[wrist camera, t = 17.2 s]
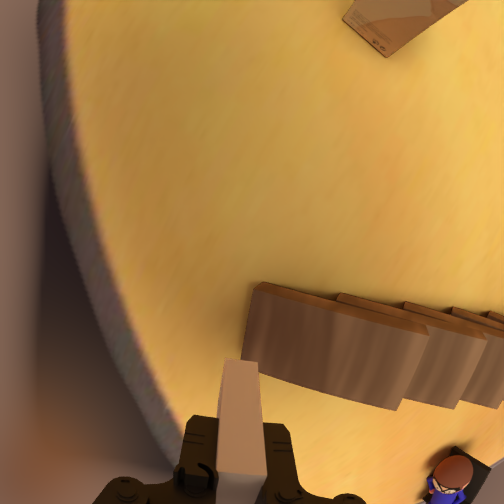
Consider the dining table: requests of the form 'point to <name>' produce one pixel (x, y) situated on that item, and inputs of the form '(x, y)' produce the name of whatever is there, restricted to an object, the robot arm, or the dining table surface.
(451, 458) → the character figurine
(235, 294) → the dining table surface
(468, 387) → the tile
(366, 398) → the tile
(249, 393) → the robot arm
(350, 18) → the box
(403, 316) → the tile
